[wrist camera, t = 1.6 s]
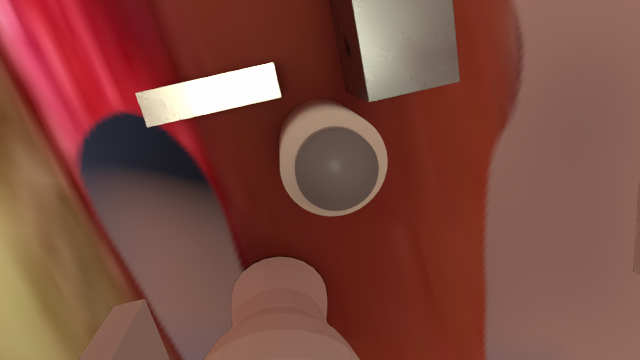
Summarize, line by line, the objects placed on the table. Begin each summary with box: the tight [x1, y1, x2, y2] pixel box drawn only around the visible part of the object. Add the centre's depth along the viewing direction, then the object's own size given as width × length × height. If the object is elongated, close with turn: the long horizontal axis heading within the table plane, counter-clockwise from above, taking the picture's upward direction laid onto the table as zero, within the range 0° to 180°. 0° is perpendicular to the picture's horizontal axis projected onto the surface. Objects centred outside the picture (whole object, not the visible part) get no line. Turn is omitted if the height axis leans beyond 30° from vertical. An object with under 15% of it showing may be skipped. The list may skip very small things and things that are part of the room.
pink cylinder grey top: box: [279, 99, 387, 216], centre depth 24 cm, size 6×6×8 cm
